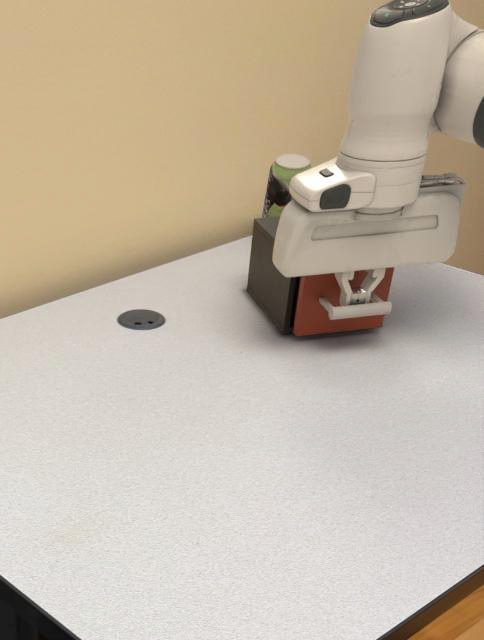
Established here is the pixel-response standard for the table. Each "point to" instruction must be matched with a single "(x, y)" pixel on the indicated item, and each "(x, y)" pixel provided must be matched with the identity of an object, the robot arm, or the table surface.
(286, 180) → the beverage can
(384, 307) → the drawer
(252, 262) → the cabinet
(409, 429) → the table surface
